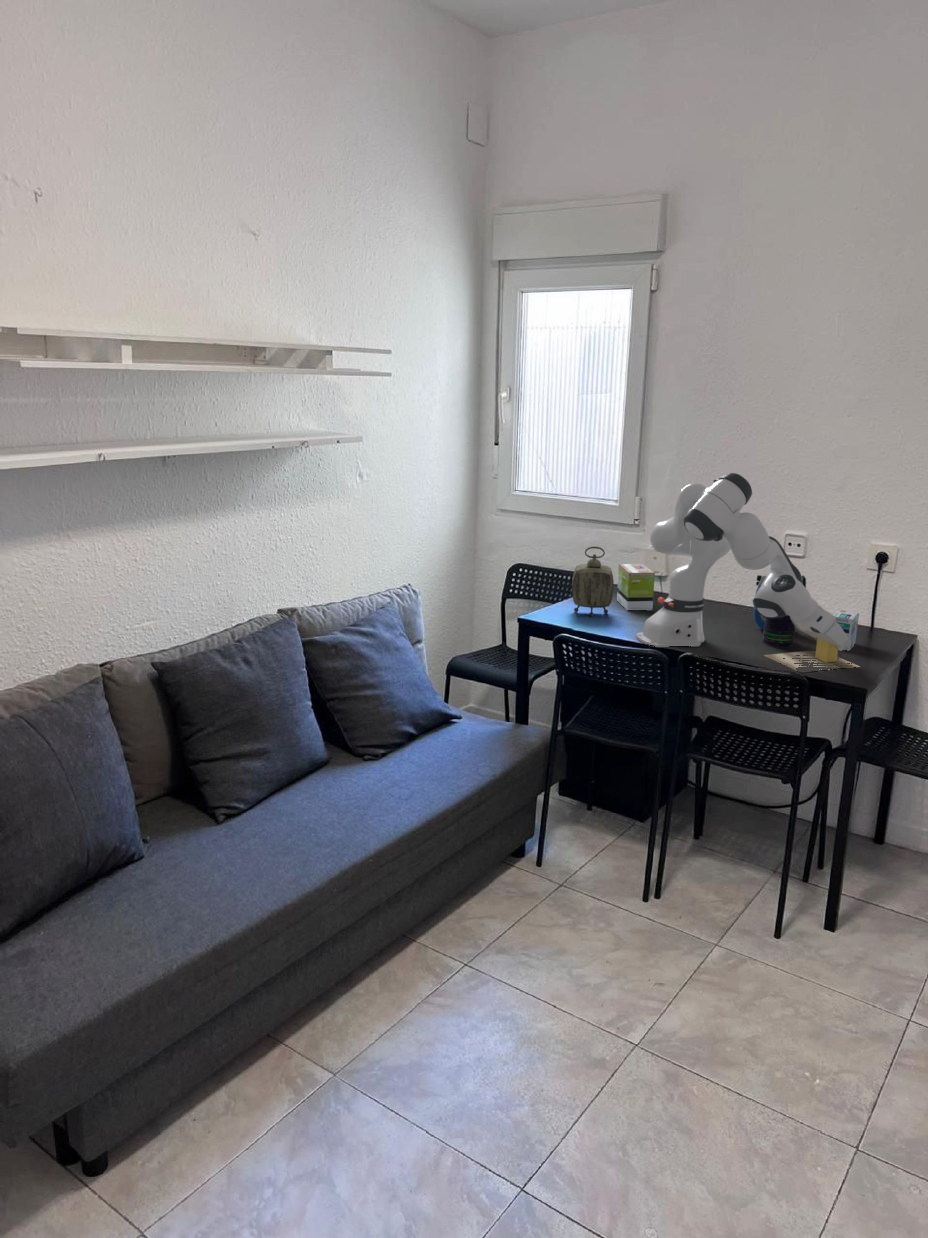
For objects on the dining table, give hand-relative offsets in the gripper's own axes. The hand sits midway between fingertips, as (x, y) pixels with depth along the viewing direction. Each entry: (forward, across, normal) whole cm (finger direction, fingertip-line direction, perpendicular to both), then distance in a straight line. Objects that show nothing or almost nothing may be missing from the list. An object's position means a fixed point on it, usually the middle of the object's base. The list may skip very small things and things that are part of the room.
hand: (830, 644), depth 292 cm
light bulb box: (+14, -11, +6) cm, 19 cm away
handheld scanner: (+7, -32, 0) cm, 33 cm away
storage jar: (0, -19, -7) cm, 20 cm away
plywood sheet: (-1, 0, -8) cm, 8 cm away
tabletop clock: (-31, -67, -38) cm, 83 cm away
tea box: (-15, -75, -23) cm, 80 cm away
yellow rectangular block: (+3, 0, -4) cm, 5 cm away
